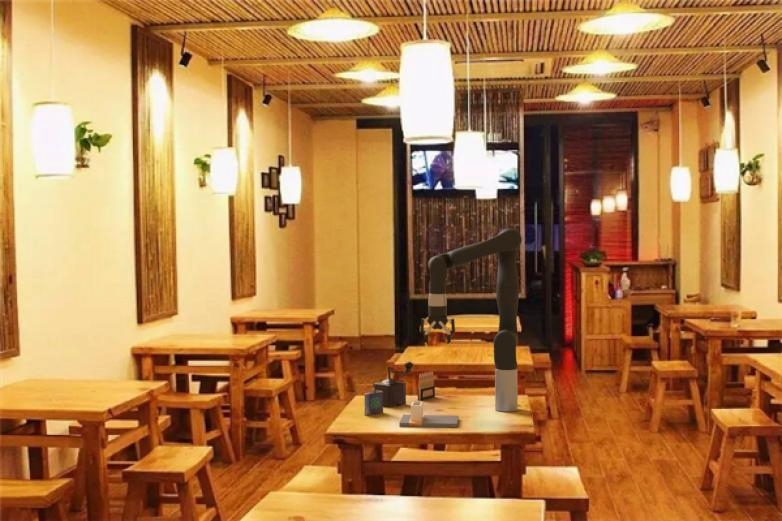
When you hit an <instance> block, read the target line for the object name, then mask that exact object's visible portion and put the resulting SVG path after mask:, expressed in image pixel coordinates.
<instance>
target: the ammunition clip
mask: <svg viewBox="0 0 782 521" xmlns="http://www.w3.org/2000/svg"><path fill="white" fill-rule="evenodd" d="M435 388H436V386H435V379H434V372H433V370H431V371H429V372H428V371H426V372H422V373H419V376H418V389H417V401H418V402H423V401H427V400H429V399H433V398H436V389H435Z"/></svg>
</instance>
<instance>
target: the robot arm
mask: <svg viewBox="0 0 782 521" xmlns="http://www.w3.org/2000/svg"><path fill="white" fill-rule="evenodd" d="M521 244H522V236H521V234H520V232H519V231H518V230H516V229H514V228H509V227H507V228H504V229H502V230H500V231H499V233H498V234H497V235H495V236H493V237H491V238H489V239H486V240H483V241H479V242H475V243H472V244H468V245H465V246H462V247H458V248H456V249H453V250H451V251H449V252H448V251H447V252H445V253H441V254H437V255H434V256H432V257H431V258H430V259H429V260H428V263H427V267H428V269H429V282H428V302H427V304H428V311H427V312H428V318H421V319H420V330H419V332H420V334H422V335H423V336H424V343H426V345H429V339H430V335H429V332H430V331H432V329H433V330H444V331H445V333H446V334H447V335H446V341H447V342H446V344H447V345H450V343H451V341H452V340H451V339H452V338H451V337H452V335H453V334H455V333H456V324H455V318H448V313H447V311H448V309H447V306H448V305H447V303H448V302H447V301H448V300H447V284H446V283H447V282H446V281H447V280H446V279H447V270H449V269H451V268H455V267H460V266H463V265H466V264H470V263H472V262H475V261H477V260H480V259H482V258H484V257H488V256H491V255H494V254H497V257H498V258H497V259H498V263H497V264H498V265H497V273H496V274H497V275H496V286H495V288H496V291H495V292H496V296H495V297H496V304H497V305H496V306H497V311H498V317H499V318H498V319H499V320H498V321H499V323H498V331H497V334H496V335H495V336H494V337H493V362H494V385H495V386H494V410H495V411H498V412H506V413H507V412H517V411H519V410H518V409H519V408H518V407H519V405H518V400H519V399H518V398H519V396H518V394H519V393H518V392H519V391H518V361H517V347H518V344H519V334H518V321H517V320H518V308H519V296H520V295H519V292H520V283H519V282H520V281H519V275H518V274H519V273H518V269H517V260H516V259H517V250H518V248H519V247H520V246H521ZM426 323H428V325H429V327H428V328H426V330H425V328H424V327H425V324H426ZM448 323H449V325H450V326H451V330H450V329H449V328H448V326H447V324H448Z"/></svg>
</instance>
